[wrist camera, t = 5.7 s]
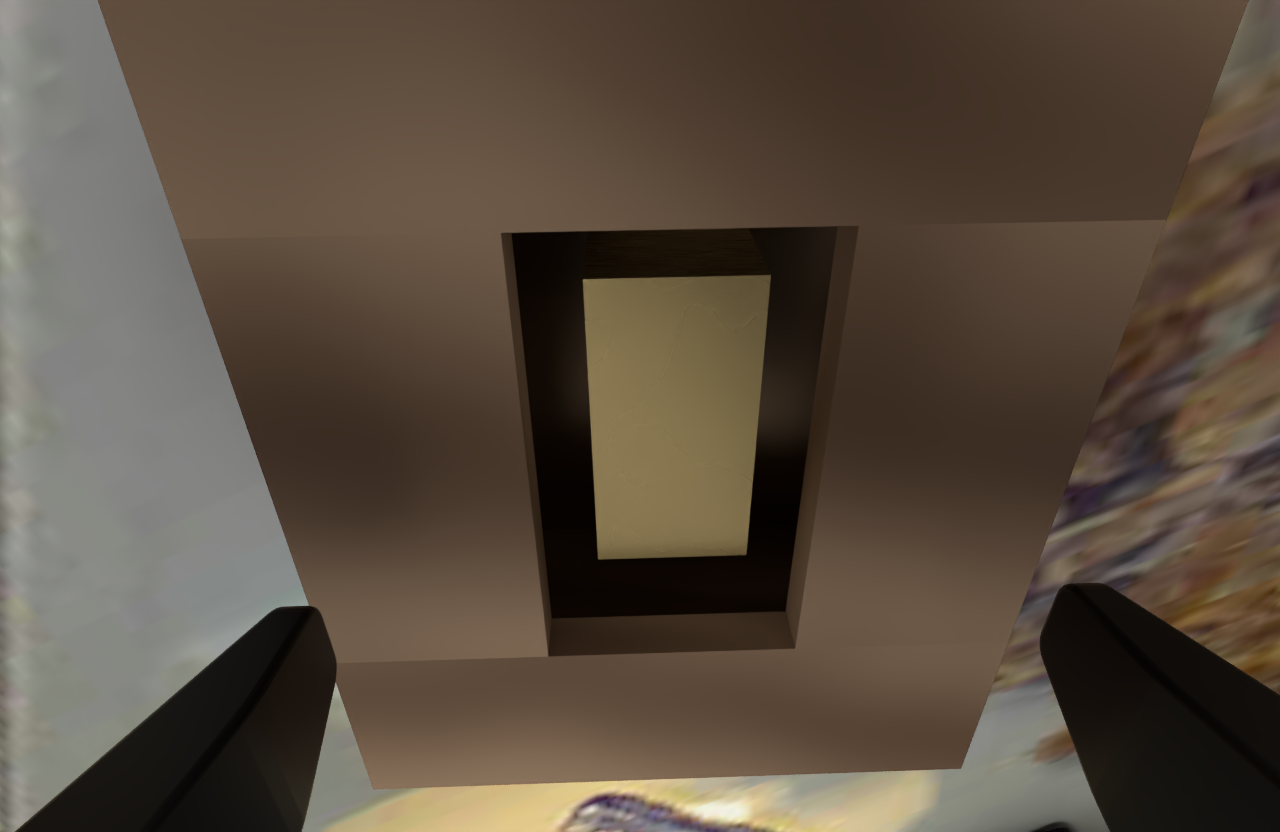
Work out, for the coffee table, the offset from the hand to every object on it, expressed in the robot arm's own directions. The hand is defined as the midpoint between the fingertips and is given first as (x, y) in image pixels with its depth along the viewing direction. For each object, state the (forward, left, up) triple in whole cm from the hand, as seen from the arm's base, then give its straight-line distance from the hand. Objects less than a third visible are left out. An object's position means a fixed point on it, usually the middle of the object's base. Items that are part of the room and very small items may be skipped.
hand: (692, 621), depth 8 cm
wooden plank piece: (0, 0, -9) cm, 9 cm away
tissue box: (0, 0, -10) cm, 10 cm away
